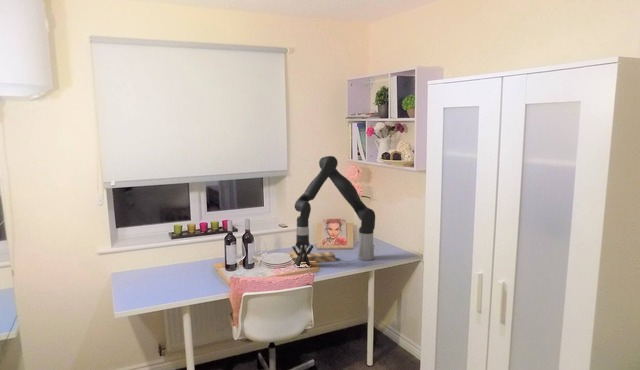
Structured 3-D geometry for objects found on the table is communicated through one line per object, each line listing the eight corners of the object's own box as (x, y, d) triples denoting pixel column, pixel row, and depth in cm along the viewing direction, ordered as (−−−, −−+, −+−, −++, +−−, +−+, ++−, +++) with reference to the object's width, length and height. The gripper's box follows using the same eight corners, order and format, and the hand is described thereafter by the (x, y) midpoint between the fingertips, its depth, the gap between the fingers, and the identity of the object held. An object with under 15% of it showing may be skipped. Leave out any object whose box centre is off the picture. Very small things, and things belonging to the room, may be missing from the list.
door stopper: (308, 264, 275) (308, 245, 274) (311, 267, 269) (311, 247, 268) (294, 265, 273) (294, 246, 271) (296, 268, 267) (296, 248, 265)
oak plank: (331, 257, 290) (331, 251, 290) (335, 261, 282) (335, 254, 282) (289, 260, 282) (289, 254, 282) (291, 264, 275) (291, 257, 274)
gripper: (312, 231, 274) (312, 258, 276) (290, 232, 270) (290, 260, 272) (315, 234, 267) (315, 262, 269) (292, 235, 263) (293, 264, 265)
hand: (302, 261), depth 271 cm, fingers closed on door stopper, 1 cm apart
